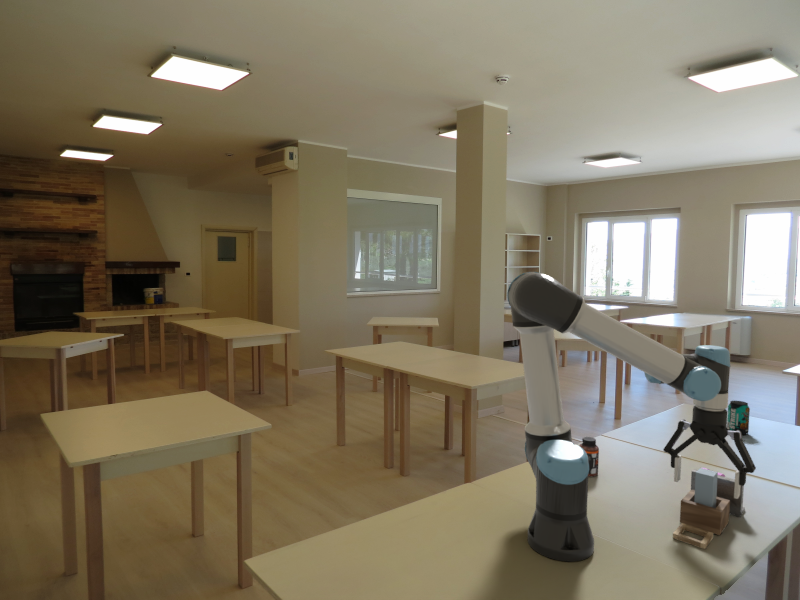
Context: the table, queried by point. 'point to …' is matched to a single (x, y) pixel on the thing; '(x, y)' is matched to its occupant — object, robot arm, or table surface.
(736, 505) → the backstop
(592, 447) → the supplement bottle
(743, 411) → the beverage can
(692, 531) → the stand
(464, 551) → the table surface
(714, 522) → the brown wooden box
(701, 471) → the light blue square peg
